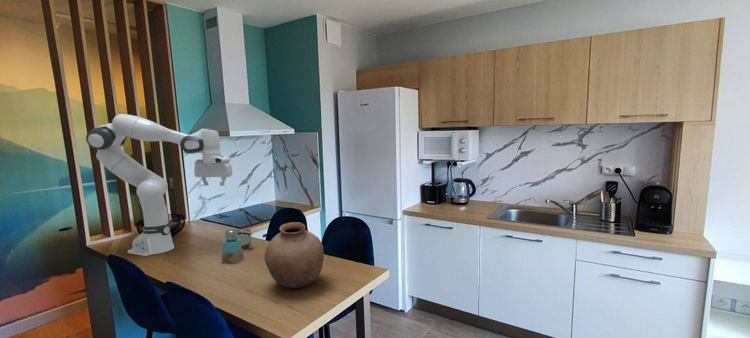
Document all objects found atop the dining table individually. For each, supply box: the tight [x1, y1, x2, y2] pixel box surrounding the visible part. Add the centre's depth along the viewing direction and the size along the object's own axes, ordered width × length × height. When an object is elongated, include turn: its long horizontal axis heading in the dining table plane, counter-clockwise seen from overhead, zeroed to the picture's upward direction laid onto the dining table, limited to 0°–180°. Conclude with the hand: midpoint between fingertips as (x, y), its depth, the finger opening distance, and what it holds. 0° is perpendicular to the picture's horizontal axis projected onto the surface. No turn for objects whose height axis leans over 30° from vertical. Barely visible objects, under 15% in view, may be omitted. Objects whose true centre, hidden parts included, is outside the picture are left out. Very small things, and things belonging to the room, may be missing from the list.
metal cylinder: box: [225, 228, 237, 242], centre depth 172 cm, size 5×5×5 cm
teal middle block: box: [221, 239, 241, 253], centre depth 172 cm, size 6×6×5 cm
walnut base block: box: [220, 249, 244, 265], centre depth 173 cm, size 7×7×5 cm
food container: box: [236, 228, 253, 251], centre depth 190 cm, size 12×6×10 cm, turn 84°
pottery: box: [263, 221, 325, 289], centre depth 143 cm, size 23×23×25 cm
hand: (214, 185), depth 188 cm, fingers open, 8 cm apart
